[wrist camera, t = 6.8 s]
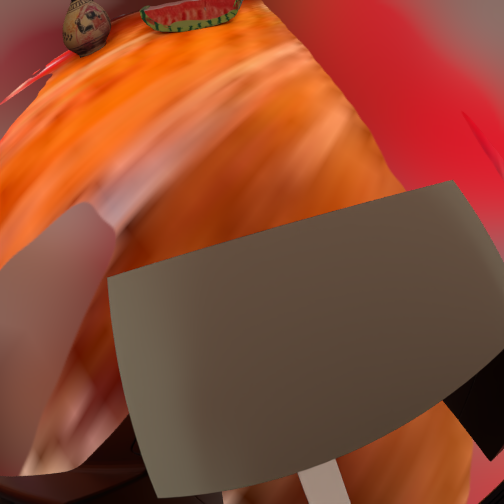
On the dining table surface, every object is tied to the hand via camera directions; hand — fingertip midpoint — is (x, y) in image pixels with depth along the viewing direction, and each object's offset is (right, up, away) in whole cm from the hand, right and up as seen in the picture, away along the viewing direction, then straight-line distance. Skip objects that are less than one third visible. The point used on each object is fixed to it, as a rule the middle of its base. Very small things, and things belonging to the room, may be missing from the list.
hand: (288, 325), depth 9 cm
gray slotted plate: (+1, -4, +6) cm, 7 cm away
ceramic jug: (-50, +65, +50) cm, 96 cm away
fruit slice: (-16, +62, +47) cm, 80 cm away
